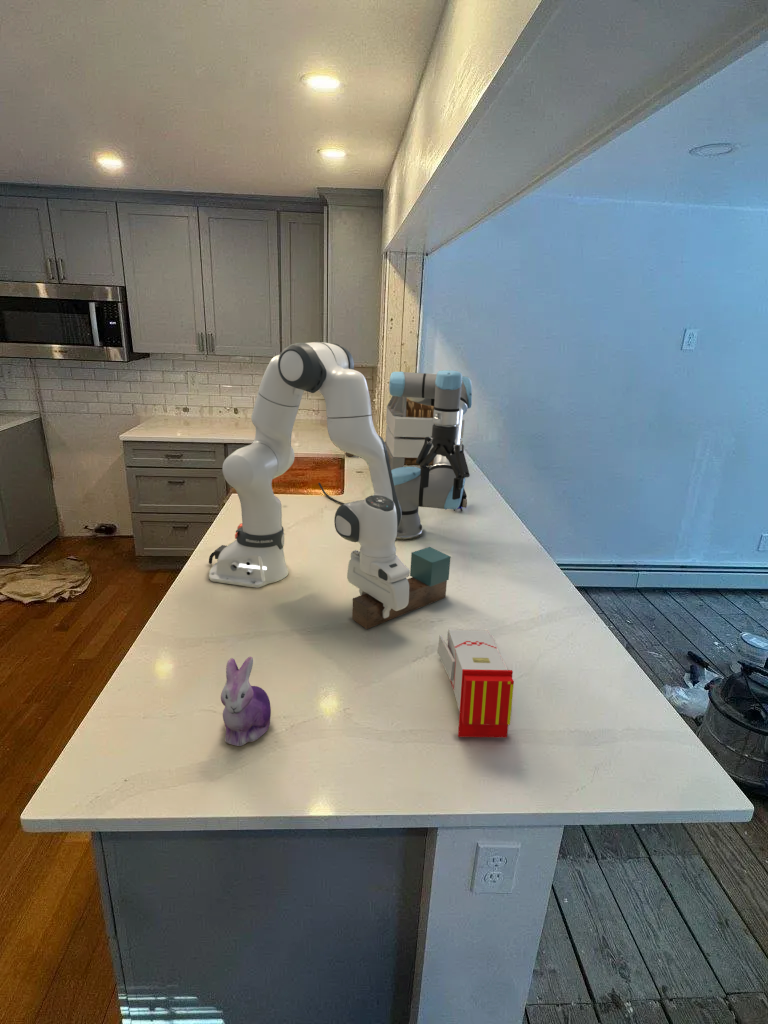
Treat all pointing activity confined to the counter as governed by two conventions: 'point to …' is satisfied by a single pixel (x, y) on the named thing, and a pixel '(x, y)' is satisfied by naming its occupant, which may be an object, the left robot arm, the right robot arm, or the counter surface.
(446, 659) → the toy
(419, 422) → the white storage bin
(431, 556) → the cap block
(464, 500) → the figurine character
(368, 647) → the counter surface
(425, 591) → the plank
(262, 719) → the figurine
